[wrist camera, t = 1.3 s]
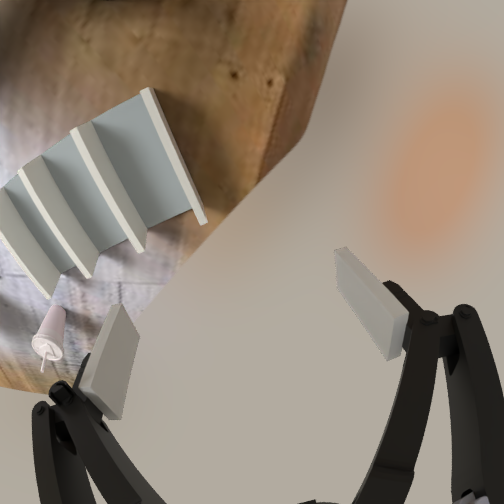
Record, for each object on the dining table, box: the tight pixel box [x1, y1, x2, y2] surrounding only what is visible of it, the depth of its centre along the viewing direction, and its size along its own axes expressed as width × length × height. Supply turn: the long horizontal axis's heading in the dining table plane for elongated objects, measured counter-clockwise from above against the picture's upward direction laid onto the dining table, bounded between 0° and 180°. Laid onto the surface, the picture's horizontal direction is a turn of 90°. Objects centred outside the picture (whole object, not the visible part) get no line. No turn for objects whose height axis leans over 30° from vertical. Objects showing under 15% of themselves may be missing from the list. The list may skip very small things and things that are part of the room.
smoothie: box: [32, 305, 66, 373], centre depth 37 cm, size 6×6×14 cm
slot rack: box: [0, 87, 208, 300], centre depth 31 cm, size 18×28×7 cm, turn 108°
